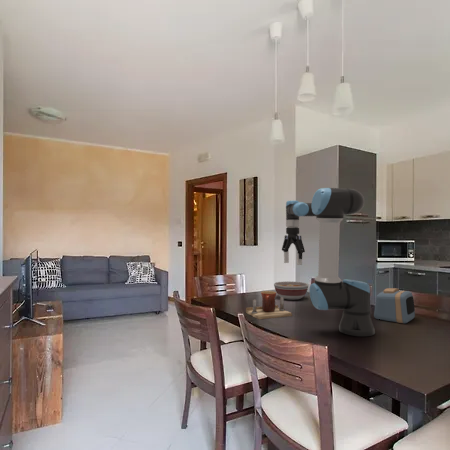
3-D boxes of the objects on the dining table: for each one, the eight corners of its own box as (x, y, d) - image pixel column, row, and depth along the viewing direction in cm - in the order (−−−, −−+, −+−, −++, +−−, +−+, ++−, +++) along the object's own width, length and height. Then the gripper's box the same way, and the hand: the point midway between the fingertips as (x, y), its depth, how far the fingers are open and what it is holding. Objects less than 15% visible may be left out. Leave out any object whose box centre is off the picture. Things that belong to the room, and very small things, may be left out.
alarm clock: (407, 325, 168) (406, 292, 168) (372, 319, 179) (372, 288, 179) (416, 318, 180) (415, 288, 180) (383, 313, 191) (382, 285, 191)
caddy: (292, 315, 186) (292, 300, 186) (258, 319, 179) (258, 302, 179) (277, 309, 201) (277, 295, 201) (245, 312, 193) (245, 297, 194)
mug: (261, 308, 196) (261, 290, 197) (277, 309, 194) (277, 291, 194) (258, 313, 185) (258, 294, 185) (275, 314, 183) (275, 295, 183)
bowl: (274, 295, 247) (274, 281, 248) (306, 295, 244) (306, 281, 244) (274, 301, 225) (274, 286, 225) (310, 302, 222) (310, 286, 222)
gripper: (311, 227, 191) (311, 265, 190) (286, 227, 214) (286, 261, 213) (299, 226, 188) (299, 266, 188) (276, 227, 211) (276, 262, 211)
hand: (292, 263), depth 201 cm, fingers open, 13 cm apart
